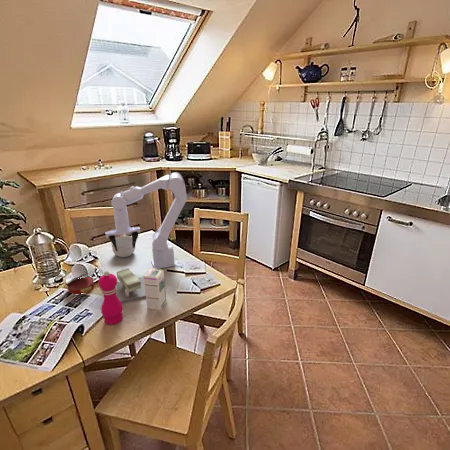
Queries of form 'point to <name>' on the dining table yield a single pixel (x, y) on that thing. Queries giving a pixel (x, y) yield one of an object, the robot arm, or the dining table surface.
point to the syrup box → (155, 288)
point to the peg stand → (130, 296)
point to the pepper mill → (110, 299)
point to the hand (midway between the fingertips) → (125, 248)
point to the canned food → (80, 284)
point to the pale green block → (128, 280)
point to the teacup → (123, 246)
